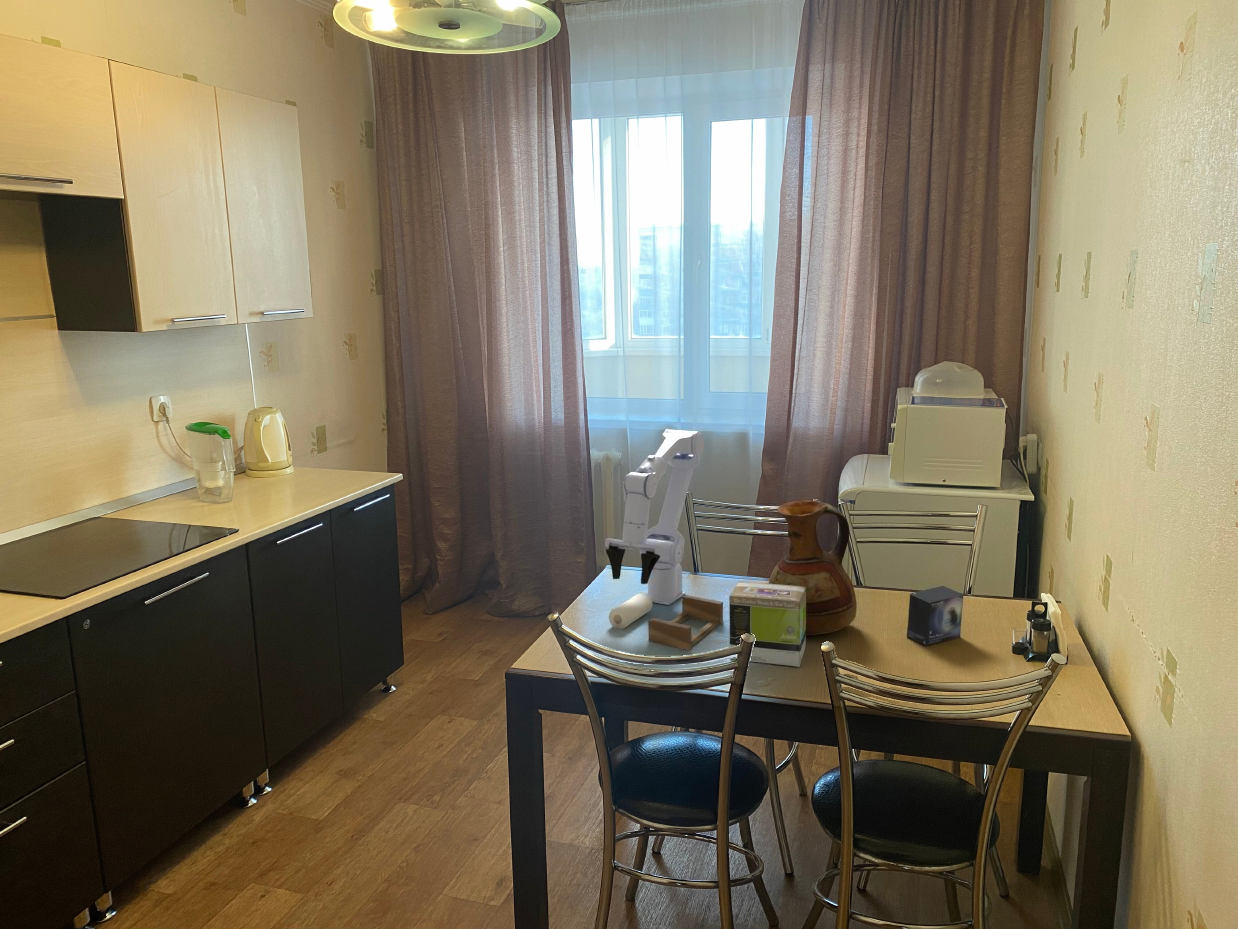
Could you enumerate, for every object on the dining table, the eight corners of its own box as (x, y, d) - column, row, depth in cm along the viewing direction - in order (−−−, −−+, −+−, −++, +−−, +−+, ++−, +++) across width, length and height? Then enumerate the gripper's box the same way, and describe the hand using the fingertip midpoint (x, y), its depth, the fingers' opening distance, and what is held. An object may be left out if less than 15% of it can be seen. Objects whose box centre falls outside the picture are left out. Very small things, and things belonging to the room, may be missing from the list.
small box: (927, 647, 196) (930, 602, 193) (905, 637, 201) (907, 593, 199) (962, 638, 200) (965, 593, 198) (939, 628, 206) (942, 584, 204)
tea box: (806, 649, 196) (807, 585, 193) (799, 669, 187) (801, 601, 184) (737, 641, 201) (738, 578, 198) (728, 660, 192) (728, 594, 189)
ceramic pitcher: (754, 615, 216) (756, 494, 209) (832, 607, 220) (836, 488, 213) (786, 648, 197) (788, 516, 190) (871, 638, 201) (876, 509, 194)
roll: (638, 613, 221) (632, 594, 221) (655, 610, 218) (649, 591, 218) (612, 631, 210) (605, 610, 210) (629, 628, 208) (623, 607, 207)
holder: (685, 614, 217) (684, 594, 216) (722, 622, 212) (723, 601, 211) (648, 641, 202) (648, 620, 201) (688, 650, 197) (688, 628, 196)
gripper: (600, 519, 211) (594, 577, 211) (654, 527, 204) (648, 586, 204) (616, 520, 217) (610, 576, 217) (669, 527, 210) (663, 585, 210)
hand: (630, 581), depth 211 cm, fingers open, 7 cm apart
